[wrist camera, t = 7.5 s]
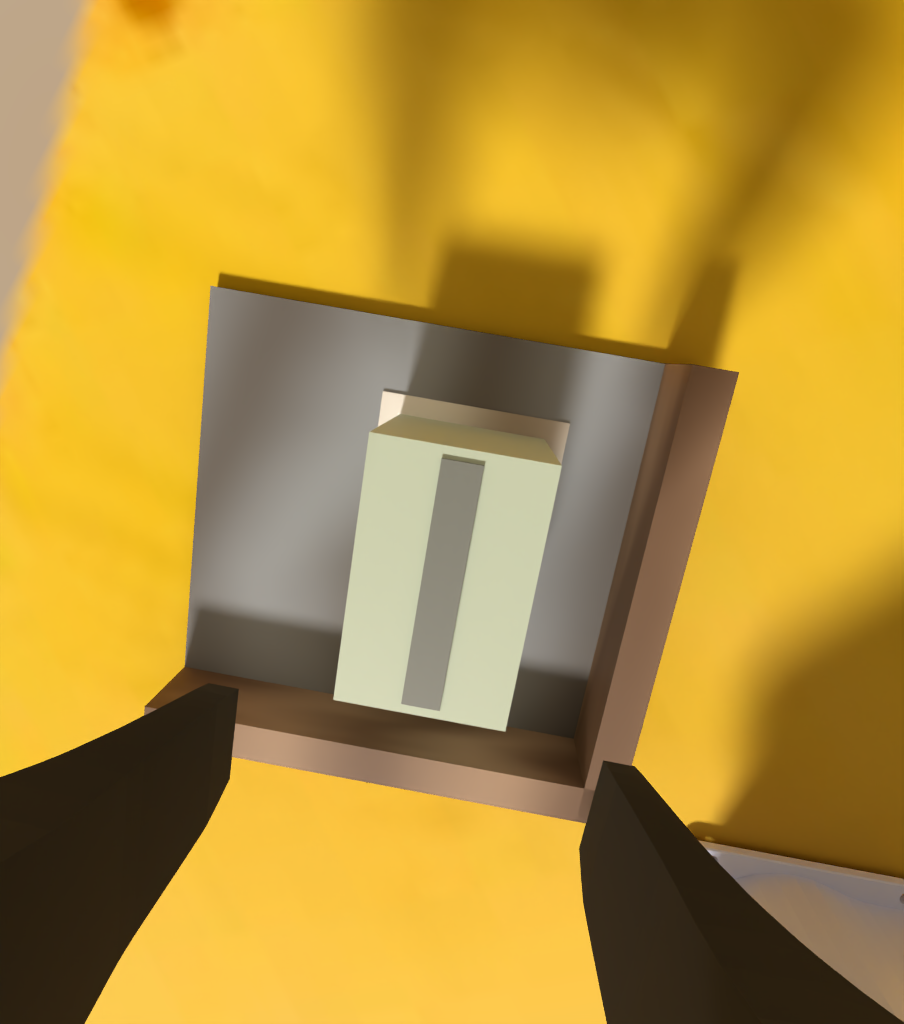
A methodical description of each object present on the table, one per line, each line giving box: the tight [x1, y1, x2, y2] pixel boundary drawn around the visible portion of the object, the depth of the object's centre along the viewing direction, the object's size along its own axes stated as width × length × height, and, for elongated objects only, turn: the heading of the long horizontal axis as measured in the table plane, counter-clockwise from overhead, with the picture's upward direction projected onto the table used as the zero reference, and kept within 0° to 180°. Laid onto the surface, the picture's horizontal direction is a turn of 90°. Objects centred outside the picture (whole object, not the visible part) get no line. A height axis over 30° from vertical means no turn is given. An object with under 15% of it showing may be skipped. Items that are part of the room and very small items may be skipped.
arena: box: [144, 286, 739, 823], centre depth 19 cm, size 15×14×3 cm
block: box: [333, 414, 562, 732], centre depth 18 cm, size 7×4×5 cm, turn 170°
